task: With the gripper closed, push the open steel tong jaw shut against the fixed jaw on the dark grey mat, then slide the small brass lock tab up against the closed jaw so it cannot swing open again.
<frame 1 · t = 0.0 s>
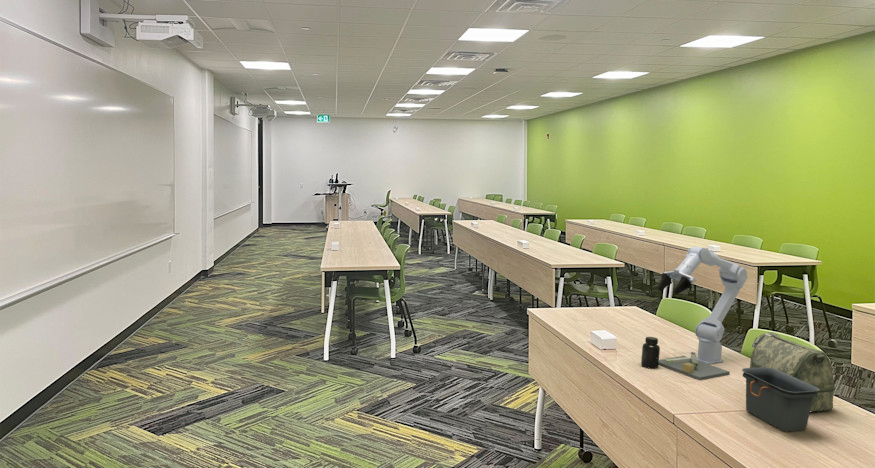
hand: (667, 291, 231), 32 cm above the table, tool tilted 50°, fingers open, 7 cm apart
jaw: (694, 360, 235), point 3 cm above the table, hinge at 42.0°
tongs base: (692, 363, 243), on the table
lunch bag: (786, 400, 204), on the table
lock tab: (688, 367, 227), point 3 cm above the table, slide at 0.0 cm
supplement bottle: (649, 366, 236), on the table
storage bin: (772, 421, 184), on the table
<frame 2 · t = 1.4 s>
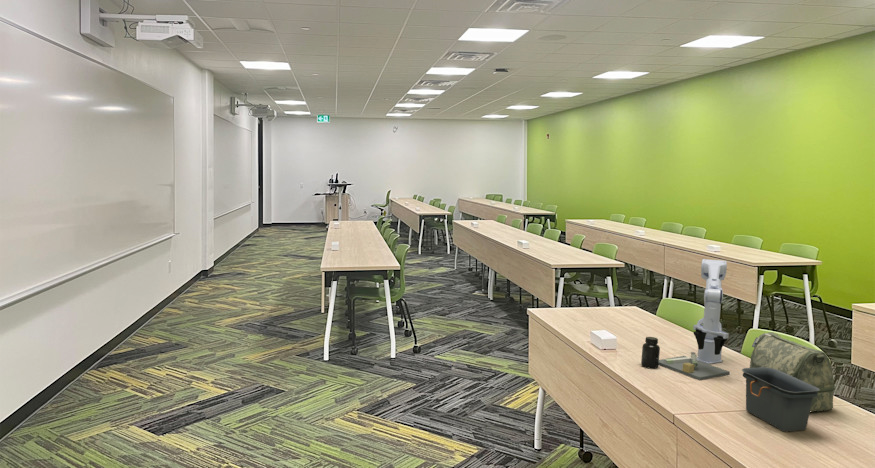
hand: (708, 351, 227), 9 cm above the table, tool pointing down, fingers open, 7 cm apart
nothing on the table moved.
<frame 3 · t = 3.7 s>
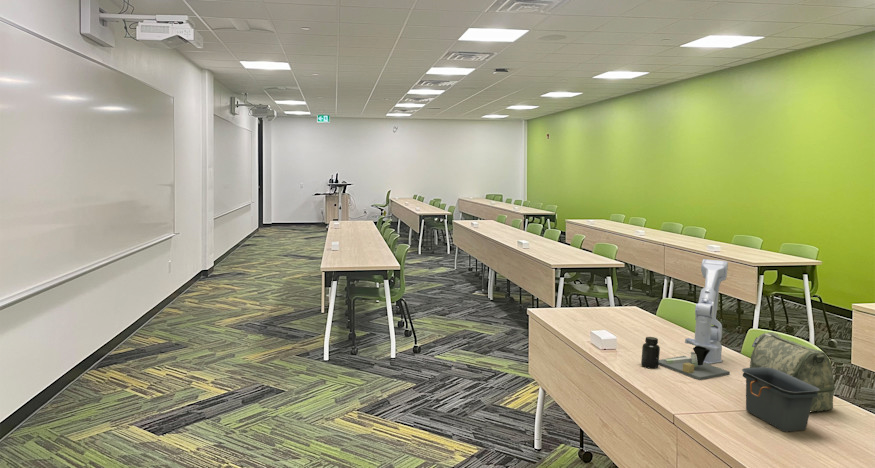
hand: (700, 364, 231), 3 cm above the table, tool pointing down, fingers closed, pressing on jaw
jaw: (694, 360, 235), point 3 cm above the table, hinge at 41.3°, touching gripper
everything else where it was.
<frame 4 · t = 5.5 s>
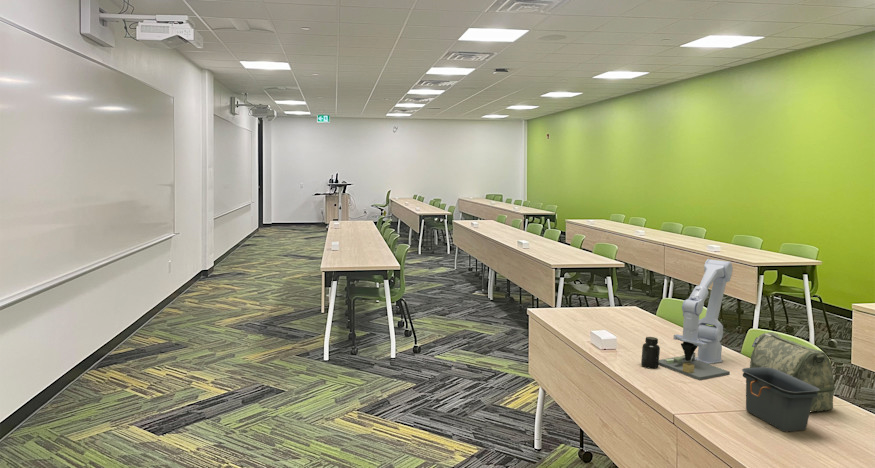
hand: (688, 360, 236), 3 cm above the table, tool pointing down, fingers closed
jaw: (683, 358, 237), point 3 cm above the table, hinge at 12.0°, touching gripper
everything else where it was.
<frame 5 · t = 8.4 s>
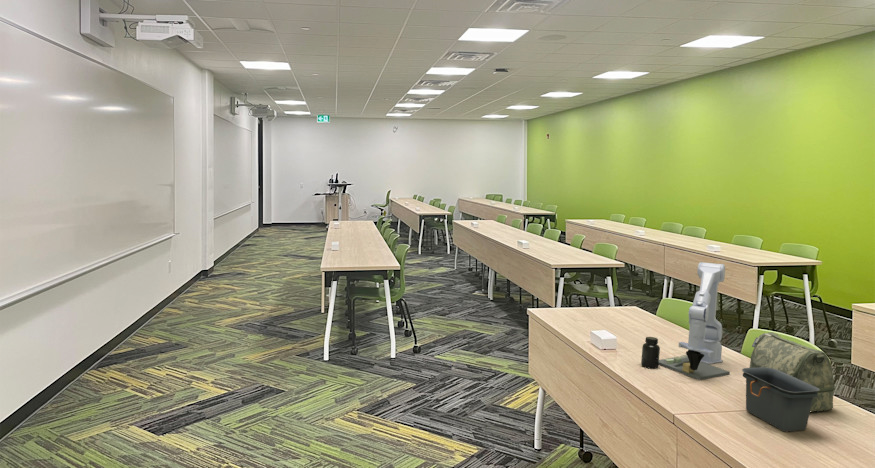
hand: (694, 369, 225), 3 cm above the table, tool pointing down, fingers closed
jaw: (683, 358, 237), point 3 cm above the table, hinge at 12.0°
lock tab: (688, 367, 227), point 3 cm above the table, slide at 0.0 cm, touching gripper
everything else where it was.
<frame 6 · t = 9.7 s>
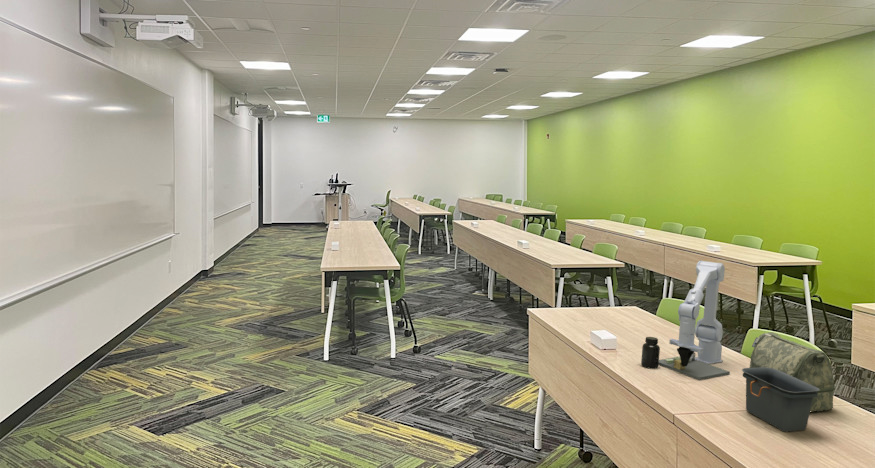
hand: (684, 366, 229), 3 cm above the table, tool pointing down, fingers closed
jaw: (683, 358, 237), point 3 cm above the table, hinge at 11.3°, touching lock tab
lock tab: (679, 364, 231), point 3 cm above the table, slide at 4.2 cm, touching gripper, jaw
everything else where it was.
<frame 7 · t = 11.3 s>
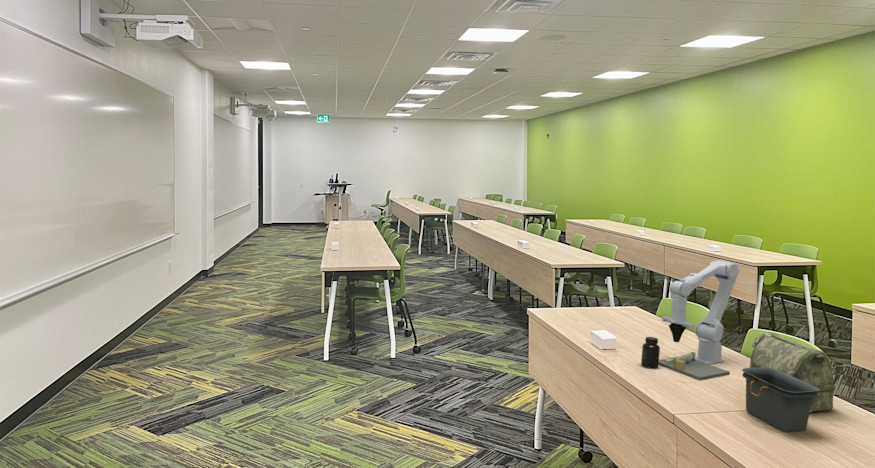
hand: (676, 341, 239), 10 cm above the table, tool pointing down, fingers closed
lock tab: (679, 364, 231), point 3 cm above the table, slide at 4.2 cm, touching jaw
everything else where it was.
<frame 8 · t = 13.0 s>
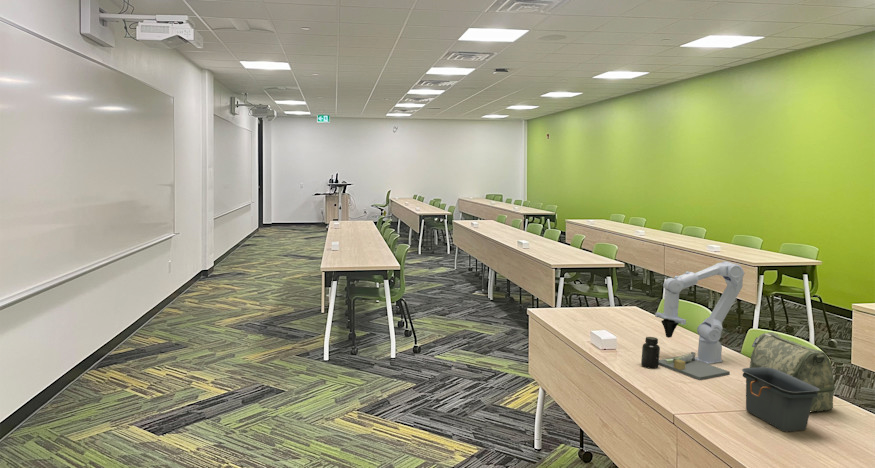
hand: (668, 337, 246), 10 cm above the table, tool pointing down, fingers closed
nothing on the table moved.
at the end: jaw at +11° (first picture: +42°); lock tab slide at 4.2 cm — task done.
